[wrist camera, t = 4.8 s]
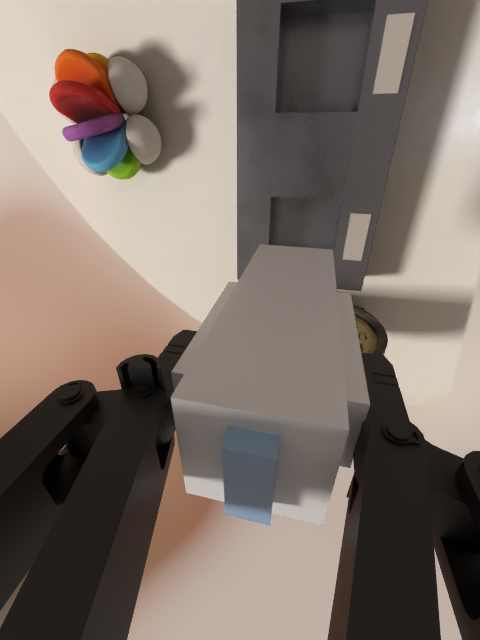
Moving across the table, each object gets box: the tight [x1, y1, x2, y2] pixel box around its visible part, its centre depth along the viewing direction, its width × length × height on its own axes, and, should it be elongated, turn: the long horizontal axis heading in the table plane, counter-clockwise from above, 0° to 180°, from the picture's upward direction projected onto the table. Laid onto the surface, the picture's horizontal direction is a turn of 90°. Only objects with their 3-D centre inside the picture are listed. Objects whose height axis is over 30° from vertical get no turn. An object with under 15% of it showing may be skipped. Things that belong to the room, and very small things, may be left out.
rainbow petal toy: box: [49, 49, 162, 179], centre depth 26 cm, size 8×10×7 cm
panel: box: [237, 0, 428, 291], centre depth 25 cm, size 22×12×4 cm, turn 0°
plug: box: [170, 244, 349, 526], centre depth 12 cm, size 4×4×13 cm
